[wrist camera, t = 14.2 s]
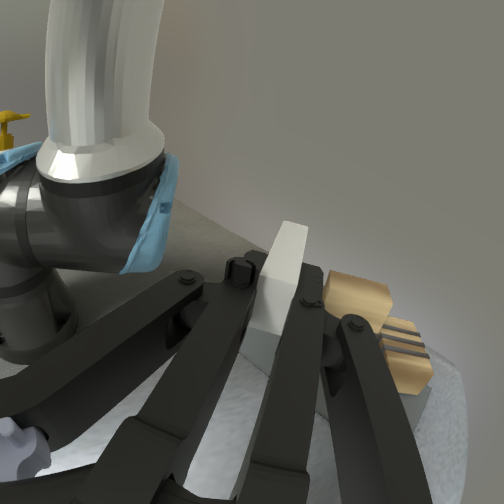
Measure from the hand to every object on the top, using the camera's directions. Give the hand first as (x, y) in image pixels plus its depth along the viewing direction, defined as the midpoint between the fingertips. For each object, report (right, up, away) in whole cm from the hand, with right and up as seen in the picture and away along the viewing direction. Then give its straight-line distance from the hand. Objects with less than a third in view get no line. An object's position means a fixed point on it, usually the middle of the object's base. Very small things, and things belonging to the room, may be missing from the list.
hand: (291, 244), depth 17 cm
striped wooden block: (+16, -16, +11) cm, 25 cm away
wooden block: (+7, -15, +16) cm, 23 cm away
